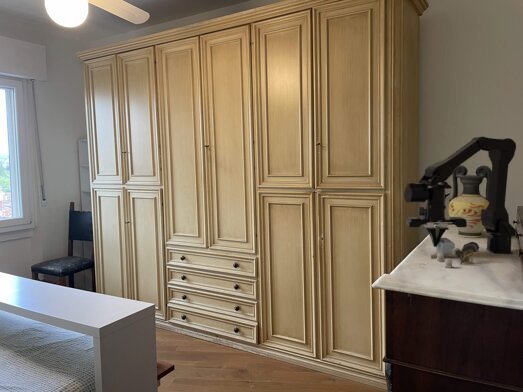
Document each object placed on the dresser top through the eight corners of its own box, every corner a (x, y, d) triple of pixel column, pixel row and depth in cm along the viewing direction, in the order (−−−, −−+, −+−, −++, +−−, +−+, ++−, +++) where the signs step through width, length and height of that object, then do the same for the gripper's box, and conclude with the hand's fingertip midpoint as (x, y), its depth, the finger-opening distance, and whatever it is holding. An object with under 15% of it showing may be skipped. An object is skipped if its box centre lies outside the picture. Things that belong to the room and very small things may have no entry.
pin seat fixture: (455, 253, 143) (455, 246, 143) (477, 268, 124) (477, 260, 124) (425, 253, 144) (425, 246, 144) (442, 268, 125) (442, 260, 125)
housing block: (447, 251, 144) (447, 237, 144) (454, 256, 138) (454, 241, 137) (435, 251, 145) (436, 237, 144) (442, 256, 138) (442, 241, 138)
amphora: (494, 234, 176) (496, 164, 173) (492, 241, 162) (494, 165, 159) (450, 231, 186) (451, 165, 183) (444, 237, 171) (445, 166, 169)
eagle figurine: (481, 263, 125) (485, 252, 132) (466, 244, 126) (471, 234, 133) (458, 273, 130) (463, 261, 137) (444, 254, 131) (451, 244, 138)
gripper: (456, 199, 147) (455, 242, 148) (402, 199, 149) (402, 241, 151) (467, 202, 136) (466, 248, 137) (409, 203, 138) (409, 248, 140)
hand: (435, 246), depth 141 cm, fingers closed
